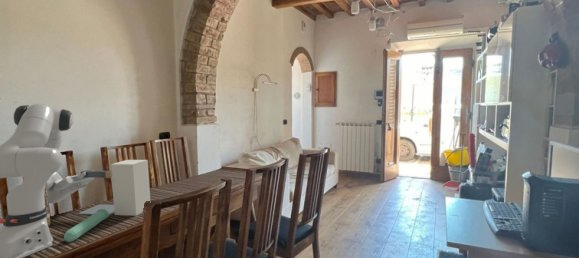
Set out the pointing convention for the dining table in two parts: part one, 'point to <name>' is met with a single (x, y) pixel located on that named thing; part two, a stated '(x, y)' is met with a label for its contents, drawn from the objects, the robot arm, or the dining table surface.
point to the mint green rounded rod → (85, 225)
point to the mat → (94, 209)
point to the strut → (98, 174)
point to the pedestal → (130, 186)
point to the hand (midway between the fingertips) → (89, 172)
